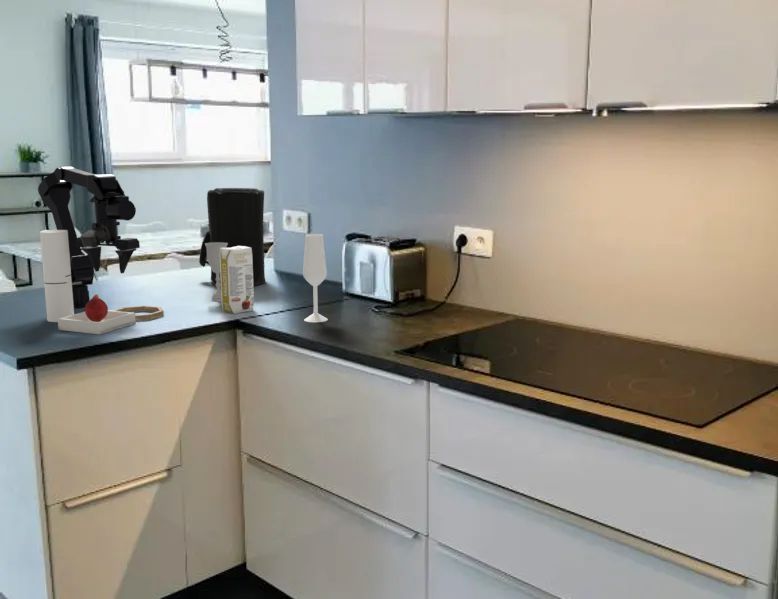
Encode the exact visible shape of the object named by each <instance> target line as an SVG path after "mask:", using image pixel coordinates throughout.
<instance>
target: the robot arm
mask: <svg viewBox="0 0 778 599" xmlns="http://www.w3.org/2000/svg"><path fill="white" fill-rule="evenodd" d="M75 185H76V186H77V185H78V186H81V187H84V188H85V189H86V191H87V192H88V193H90V194H91V195H93V196H92V197H91V199H90V200H89V202H90V203H92V204H94V206H93V207H94V217H95V218H94V219H95V222H92V224H91V229H88V230H87V231H86V232H83V234H81V235H80V236H79V237H78V235H77V232H76V228H75V225H74V222H73V218H72V216H71V212H70V209H69V205H70V201H71V198H72V196H71V191H72V190H73V189H74V187H75ZM37 191H38V194H39V196H40V199H41V201H42V204H44V205H45V206H46V207H47V208H48V209H49V211H51V214H52V218H53V221H54V225H55V228H56V230H67V231H68V243H69V255H70V268H71V280H72V293H73V306H74V309H75V308H76V309H78V308H79V309H80V308H83V307H85V306H86V304H87V303H88V302H89V300H90V290H89V285H90V286H91V285H93V283H94V276H95V272H99V271H100V268H101V267H100V266H101V258H102V257H101V255H102V247H103V246H105V247H114V248H116V250H114V251H115V253H116V254H117V256H118V264H119V273H120V274H124V273H125V272H126V269H127V266H128V264H129V262H130V259H131V257H132V255H133V253H134V252H136V251H137V249H140V246H141V245H140V240H139V239H138V238H137V237H136V238H135V237H125V238H122V236H121V235H118V226H120V224H121V222H120V221H126V222H127V221H128V222H129V221H131V220H133V218H134V217H135V215H136V212H137V211H136V210H137V208H136V206H135V204H134V203H133V202H132V201H131V200H130V196H128V195H125V191H124V190H123V188H122V185H120V183H119V181H118V179H117V177H116V176H115V175H114V174H109V173H108V174H107V173H106V174H102V173H101V174H95V173H92V172H88V171H84V170H81V169H77V168H75V167H73V166H58V167H56V168H55V169H54V171H53V172H51V173H50V174H48V175H47V176H45V177H44V178H43V179H42V181H41V182H40V183H39V185H38V187H37ZM118 220H119V221H118Z"/></svg>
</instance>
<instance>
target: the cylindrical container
mask: <svg viewBox="0 0 778 599" xmlns="http://www.w3.org/2000/svg"><path fill="white" fill-rule="evenodd" d="M39 238H40V249H41V251H40V252H41V260H42V261H41V263H42V264H41V265H42V271H43V284H44V295H45V296H44V297H45V308H46V319H47V322H49V323H50V322H52V323H58V319H59V318H63V317H66V316H70V315H74V314H75V307H74V306H73V293H72V280H71V268H70V255H69V243H68V231H67V230H57V229H48V230H41V231H39Z"/></svg>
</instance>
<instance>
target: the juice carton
mask: <svg viewBox="0 0 778 599" xmlns="http://www.w3.org/2000/svg"><path fill="white" fill-rule="evenodd" d="M220 278H221V286H220V291H221V301H220V302H221V307H222V311H223V312H225V313H229V314H234V315H235V314H241V313H246V312H247V313H248V312H252V311H254V309H255V308H254V307H255V304H254V303H255V295H254V294H255V293H254V291H255V290H254V287H253V259H252V249H251V247H246V246H235V247H231V248H220Z"/></svg>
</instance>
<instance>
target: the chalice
mask: <svg viewBox="0 0 778 599" xmlns="http://www.w3.org/2000/svg"><path fill="white" fill-rule="evenodd" d="M227 244H228V243H223V242H212V243H205V245H206V247H207V261H208V263H209V265H208V266H209V268H210V270H211V269H212V271H213V272H214V273H216V279H215V280H216V282H217V283H216V284H215V287H216V291H215V292H214V293H212V296H211V300H212V301H211V300H210V301H211V302H216V301H219V302H222V301H221V284H220V277H219V273H220V248H226V247H227Z"/></svg>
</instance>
